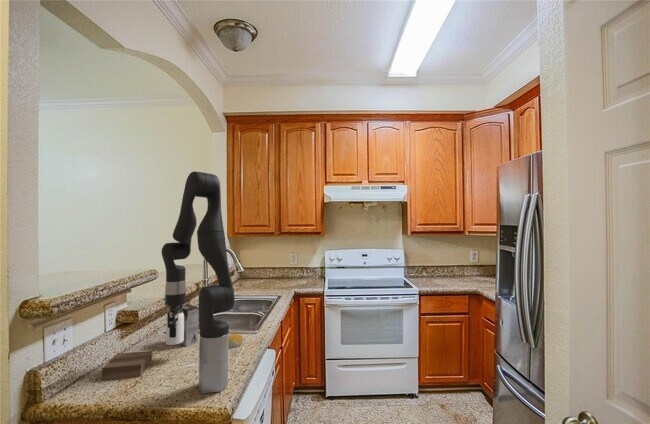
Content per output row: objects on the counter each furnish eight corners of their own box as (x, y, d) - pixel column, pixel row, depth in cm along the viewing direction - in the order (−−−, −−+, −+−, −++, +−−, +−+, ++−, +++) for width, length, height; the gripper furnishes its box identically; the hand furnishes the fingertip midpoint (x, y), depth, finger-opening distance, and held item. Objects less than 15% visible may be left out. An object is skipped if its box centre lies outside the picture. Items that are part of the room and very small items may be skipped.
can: (178, 338, 128) (179, 309, 128) (186, 342, 124) (187, 311, 124) (162, 343, 123) (163, 312, 123) (170, 346, 119) (170, 315, 119)
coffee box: (173, 342, 140) (174, 306, 141) (186, 338, 146) (187, 303, 146) (186, 346, 135) (186, 309, 136) (198, 342, 141) (199, 306, 141)
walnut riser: (140, 376, 109) (140, 364, 109) (102, 379, 107) (102, 368, 107) (151, 361, 121) (151, 351, 121) (117, 364, 118) (117, 353, 118)
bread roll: (243, 340, 144) (243, 331, 144) (240, 347, 135) (241, 338, 135) (225, 340, 143) (225, 332, 143) (221, 348, 134) (221, 339, 134)
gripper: (181, 295, 118) (180, 339, 117) (189, 288, 132) (188, 328, 131) (160, 296, 117) (159, 341, 116) (170, 289, 131) (169, 329, 130)
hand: (174, 334), depth 124 cm, fingers closed on can, 6 cm apart
